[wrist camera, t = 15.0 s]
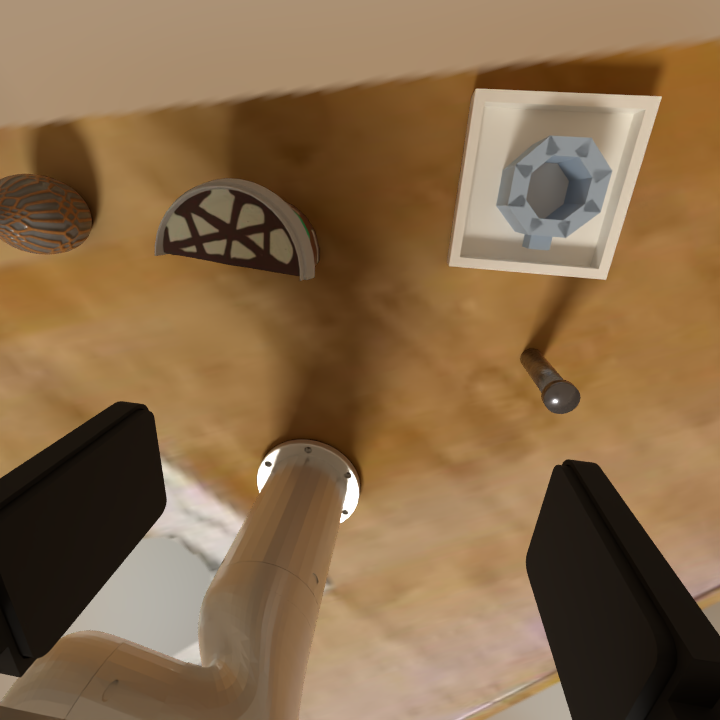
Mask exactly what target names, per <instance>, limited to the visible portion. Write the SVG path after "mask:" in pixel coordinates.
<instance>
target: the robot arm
mask: <svg viewBox="0 0 720 720" xmlns="http://www.w3.org/2000/svg"><path fill="white" fill-rule="evenodd" d="M257 486H258V489H259V495H258V497H257V499H256V501H255V503H254V504H253V506H252V508H251V510H250V512H249V514H248V516H247V517H246V519H245V521H244V523H243V525H242V527H241V528H240V530H239V532H238V534H237V536H236V538H235V540H234V541H233V543H232V545H231V547H230V549H229V551H228V553H227V554H226V556H225V558H224V560H223V562H222V564H221V565H220V567H219V569H218V571H217V573H216V575H215V577H214V579H213V580H212V582H211V584H210V586H209V588H208V590H207V592H206V594H205V596H204V599H203V602H202V606H201V609H200V615H199V622H198V639H199V649H200V656H201V663H202V667H201V666H198V665H195V664H192V663H189V662H188V663H186V662H183V661H180V660H178V659H175V658H173V657H170V656H168V655H165V654H162V653H160V652H157V651H155V650H152V649H149V648H147V647H144V646H142V645H139V644H137V643H134V642H131V641H129V640H126V639H123V638H120V637H117V636H114V635H111V634H108V633H104V632H100V631H90V630H87V631H79V632H75V633H71V634H69V635H66V636H64V637H62V636H63V634H64V633H65V632H66V631H67V630H68V628H69V627H70V626H71V625H72V623H73V622H74V621H75V620H76V619H77V617H78V616H79V615H80V614H81V613H82V611H83V610H84V609H85V608H86V606H87V605H88V604H89V603H90V602H91V600H92V599H93V598H94V597H95V595H96V594H97V593H98V592H99V591H100V589H101V588H102V587H103V586H104V584H105V583H106V582H107V581H108V580H109V578H110V577H111V576H112V575H113V573H114V572H115V571H116V570H117V569H118V567H119V566H120V565H121V564H122V563H123V561H124V560H125V559H126V558H127V556H128V555H129V554H130V553H131V552H132V550H133V549H134V548H135V547H136V545H137V544H138V543H139V542H140V541H141V539H142V538H143V537H144V536H145V534H146V533H147V532H148V531H149V530H150V528H151V527H152V526H153V525H154V524H155V522H156V521H157V520H158V519H159V517H160V516H161V515H162V513H163V512H164V509H165V507H166V502H167V499H166V492H165V485H164V478H163V472H162V465H161V459H160V452H159V445H158V439H157V432H156V426H155V419H154V415H153V413H152V412H150V411H149V410H148V408H147V406H146V405H144V404H138V403H130V402H123V401H120V402H116V403H114V404H113V405H111V406H110V407H108V408H107V409H105V410H104V411H102V412H101V413H99V414H98V415H96V416H95V417H93V418H91V419H90V420H88V421H87V422H85V423H84V424H82V425H81V426H79V427H78V428H76V429H75V430H73V431H72V432H70V433H69V434H67V435H66V436H64V437H63V438H61V439H59V440H58V441H56V442H55V443H53V444H52V445H50V446H49V447H47V448H46V449H44V450H43V451H41V452H40V453H38V454H37V455H35V456H34V457H32V458H31V459H29V460H27V461H26V462H24V463H23V464H21V465H20V466H18V467H17V468H15V469H14V470H12V471H11V472H9V473H8V474H6V475H5V476H3V477H2V478H0V673H2V674H6V675H11V676H16V677H18V679H17V680H16V682H15V683H14V684H13V685H12V687H11V688H10V689H9V691H8V692H7V693H6V695H5V696H4V697H3V698H2V700H1V701H0V720H299V710H300V703H301V696H302V690H303V684H304V678H305V673H306V667H307V662H308V658H309V653H310V648H311V644H312V639H313V635H314V631H315V626H316V622H317V618H318V613H319V609H320V604H321V600H322V596H323V592H324V588H325V583H326V579H327V575H328V571H329V566H330V562H331V558H332V554H333V549H334V545H335V541H336V537H337V533H338V528H339V524H340V523H341V522H343V521H344V520H346V519H347V518H348V517H349V516H350V515H351V514H352V513H353V512H354V510H355V508H356V506H357V504H358V500H359V496H360V481H359V477H358V474H357V472H356V470H355V468H354V467H353V465H352V463H351V462H350V461H349V460H348V459H347V458H346V457H345V456H344V455H343V454H342V453H340V452H339V451H338V450H336V449H335V448H333V447H331V446H329V445H327V444H324V443H321V442H318V441H313V440H304V439H297V440H291V441H287V442H284V443H281V444H279V445H278V446H276V447H274V448H273V449H272V450H271V451H270V452H269V453H267V454H266V456H265V458H264V459H263V461H262V462H261V464H260V467H259V469H258V474H257ZM526 569H527V574H528V577H529V580H530V584H531V587H532V590H533V593H534V597H535V600H536V603H537V606H538V610H539V613H540V616H541V619H542V623H543V626H544V629H545V632H546V636H547V639H548V642H549V645H550V649H551V652H552V655H553V658H554V662H555V665H556V668H557V671H558V675H559V678H560V681H561V684H562V688H563V691H564V694H565V697H566V701H567V704H568V707H569V711H570V714H571V717H572V720H720V636H719V634H718V633H717V631H716V630H715V629H714V627H713V626H712V624H711V623H710V622H709V620H708V619H707V617H706V616H705V614H704V613H703V612H702V610H701V609H700V607H699V606H698V605H697V603H696V602H695V600H694V599H693V598H692V596H691V595H690V593H689V592H688V591H687V589H686V588H685V586H684V585H683V583H682V582H681V581H680V579H679V578H678V576H677V575H676V574H675V572H674V571H673V569H672V568H671V567H670V565H669V564H668V562H667V561H666V560H665V558H664V557H663V555H662V554H661V552H660V551H659V550H658V548H657V547H656V545H655V544H654V543H653V541H652V540H651V538H650V537H649V536H648V534H647V533H646V531H645V530H644V529H643V527H642V526H641V524H640V523H639V522H638V520H637V519H636V517H635V516H634V514H633V513H632V512H631V510H630V509H629V507H628V506H627V505H626V503H625V502H624V500H623V499H622V498H621V496H620V495H619V493H618V492H617V491H616V489H615V488H614V486H613V485H612V483H611V482H610V481H609V479H608V478H607V476H606V475H605V474H604V472H603V471H602V469H601V468H600V467H599V466H598V465H597V464H596V463H592V462H584V461H576V460H565V461H564V462H563V464H562V465H556V466H555V467H554V469H553V472H552V475H551V478H550V481H549V485H548V488H547V491H546V494H545V497H544V501H543V504H542V507H541V510H540V514H539V517H538V520H537V523H536V526H535V530H534V533H533V536H532V539H531V542H530V546H529V549H528V552H527V556H526ZM61 637H62V638H61Z"/></svg>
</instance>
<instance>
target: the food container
mask: <svg viewBox="0 0 720 720" xmlns="http://www.w3.org/2000/svg"><path fill="white" fill-rule="evenodd" d="M165 254H172V255H180V256H186V257H192V258H197V259H202V260H208V261H213V262H218V263H223V264H227V265H233V266H240V267H247V268H253V269H259V270H266V271H271V272H277V273H283V274H289V275H295V276H300V281H302V280H308V279H312V278H315V265H316V264H317V263H318V262H319V245H318V241H317V237H316V233H315V231H314V229H313V227H312V226H311V224H310V222H309V220H308V219H307V217H306V216H305V215H304V214H303V213H301V212H300V211H299V210H298V209H297V208H296V207H295V206H293V205H291V204H289V203H287V202H285V201H283V200H282V199H281V198H280V197H279V196H278V195H276V194H275V193H273V192H272V191H270V190H268V189H267V188H265V187H263V186H261V185H258V184H256V183H254V182H250V181H246V180H242V179H231V178H225V179H217V180H213V181H210V182H207V183H203V184H201V185H198V186H196V187H194V188H192V189H190V190H189V191H187V192H185V193H184V194H183V195H181V196H180V197H179V198H178V199H177V200H176V201H175V202H174V203H173V204H172V206H171V207H170V208H169V209H168V211H167V212H166V214H165V215H164V217H163V219H162V221H161V223H160V226H159V229H158V232H157V236H156V242H155V256H158V255H165Z"/></svg>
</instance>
